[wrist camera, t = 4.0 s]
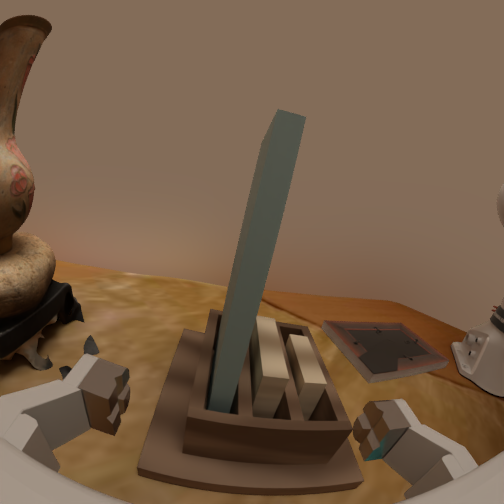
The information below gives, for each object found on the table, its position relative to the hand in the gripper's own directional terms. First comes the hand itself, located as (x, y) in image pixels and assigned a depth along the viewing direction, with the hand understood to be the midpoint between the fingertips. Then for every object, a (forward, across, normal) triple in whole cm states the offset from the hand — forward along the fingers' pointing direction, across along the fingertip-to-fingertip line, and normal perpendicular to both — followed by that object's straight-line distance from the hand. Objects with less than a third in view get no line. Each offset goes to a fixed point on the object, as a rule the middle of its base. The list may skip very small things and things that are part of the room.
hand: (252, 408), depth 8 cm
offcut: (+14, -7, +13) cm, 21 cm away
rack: (+14, -4, +14) cm, 21 cm away
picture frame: (+30, -30, +15) cm, 45 cm away
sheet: (+14, 0, +13) cm, 19 cm away
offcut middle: (+14, -4, +13) cm, 20 cm away
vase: (+14, +27, +15) cm, 34 cm away
